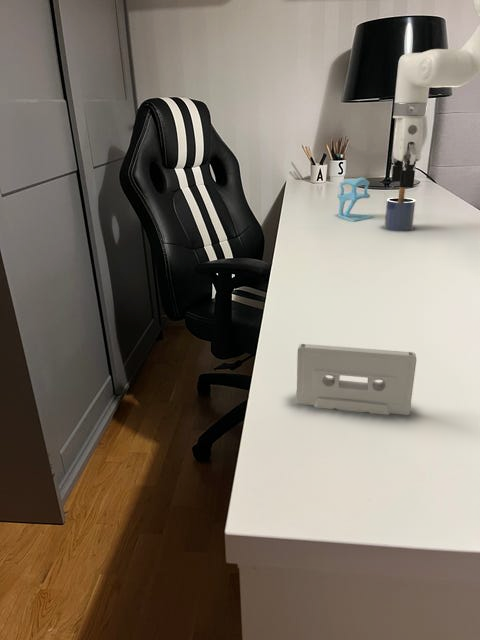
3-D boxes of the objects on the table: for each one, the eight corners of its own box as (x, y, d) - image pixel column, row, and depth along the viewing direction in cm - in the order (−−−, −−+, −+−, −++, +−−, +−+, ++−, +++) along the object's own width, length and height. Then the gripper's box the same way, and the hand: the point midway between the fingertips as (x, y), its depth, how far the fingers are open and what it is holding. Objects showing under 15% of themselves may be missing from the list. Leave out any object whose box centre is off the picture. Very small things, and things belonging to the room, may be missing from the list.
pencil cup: (408, 227, 134) (411, 197, 131) (414, 234, 128) (418, 202, 125) (381, 228, 135) (384, 197, 132) (386, 234, 128) (389, 202, 125)
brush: (400, 227, 132) (406, 177, 127) (402, 229, 130) (407, 178, 125) (393, 227, 132) (398, 177, 127) (395, 229, 130) (400, 178, 125)
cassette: (294, 411, 55) (296, 349, 52) (297, 402, 56) (298, 341, 53) (409, 423, 52) (418, 358, 49) (408, 414, 54) (416, 350, 51)
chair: (350, 215, 151) (352, 174, 146) (372, 219, 145) (375, 177, 140) (332, 219, 147) (334, 177, 142) (353, 223, 141) (356, 179, 136)
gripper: (436, 111, 112) (425, 189, 119) (416, 110, 128) (408, 179, 135) (401, 112, 112) (393, 190, 119) (387, 110, 128) (380, 179, 135)
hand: (401, 184), depth 127 cm, fingers open, 9 cm apart
